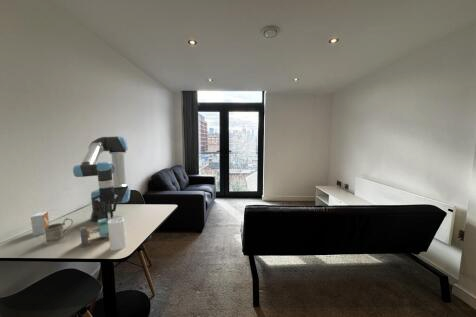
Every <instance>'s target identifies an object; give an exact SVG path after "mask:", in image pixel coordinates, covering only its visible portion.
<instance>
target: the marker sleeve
mask: <svg viewBox="0 0 476 317" xmlns="http://www.w3.org/2000/svg"><path fill="white" fill-rule="evenodd" d="M97 226H98V229H99V230H100V232H98V235H99V237H105V236H108V235H109V231H108V219H106V218H104V219H100V220H98V221H97Z"/></svg>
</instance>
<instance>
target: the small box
mask: <svg viewBox="0 0 476 317" xmlns="http://www.w3.org/2000/svg"><path fill="white" fill-rule="evenodd" d="M49 219H50V218H49V212H48V211H42V212H36V213H35V214H33V215H31V216H30V221H31V228H32V236H33V237H35V236H40V235H46V232H45V227H47V226H49V225H50V220H49Z"/></svg>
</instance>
